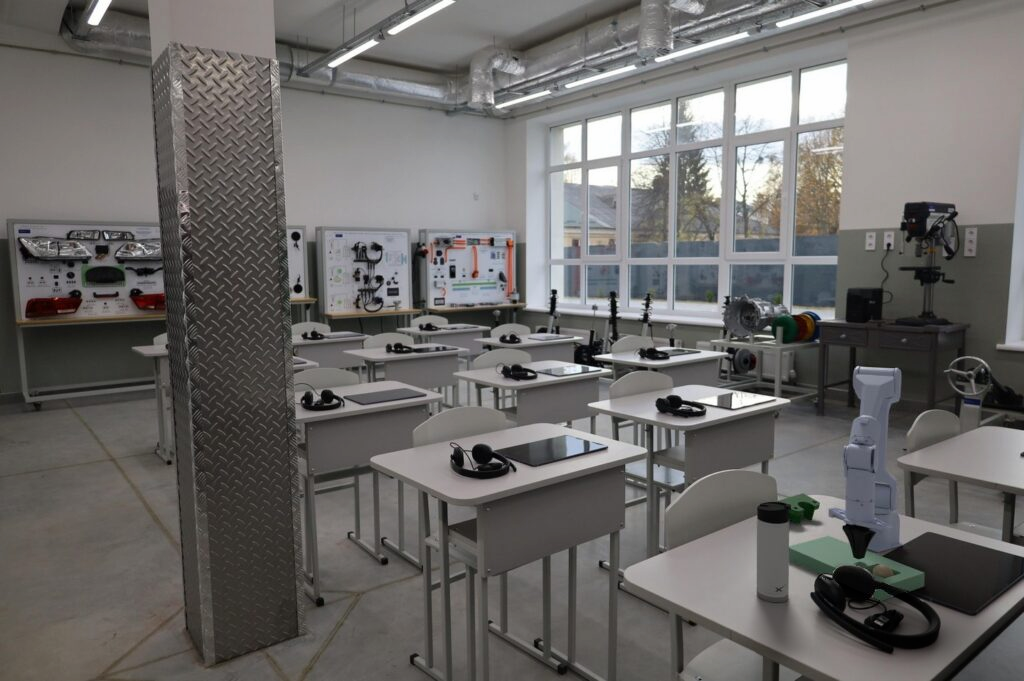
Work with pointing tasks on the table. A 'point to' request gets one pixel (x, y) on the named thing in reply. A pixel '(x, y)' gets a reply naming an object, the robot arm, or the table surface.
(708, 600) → the table surface
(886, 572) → the maple ball
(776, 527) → the travel mug
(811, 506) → the clamp
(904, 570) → the putting board
